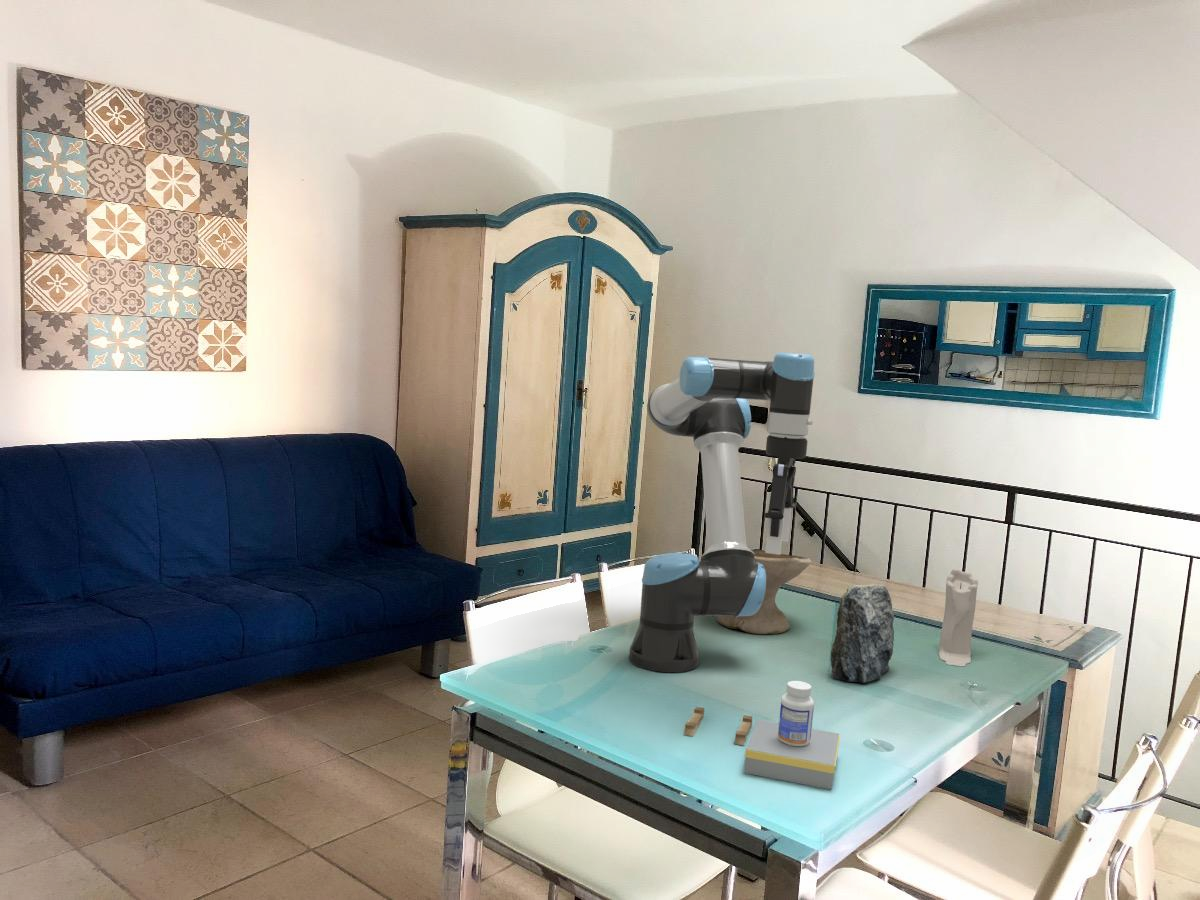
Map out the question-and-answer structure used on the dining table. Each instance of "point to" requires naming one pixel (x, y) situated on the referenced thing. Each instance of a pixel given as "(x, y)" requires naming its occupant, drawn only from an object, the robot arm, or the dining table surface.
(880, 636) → the stone block
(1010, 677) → the dining table surface
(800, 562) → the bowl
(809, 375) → the robot arm
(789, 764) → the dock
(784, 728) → the pill bottle
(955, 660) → the candle
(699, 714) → the wooden rail rack
